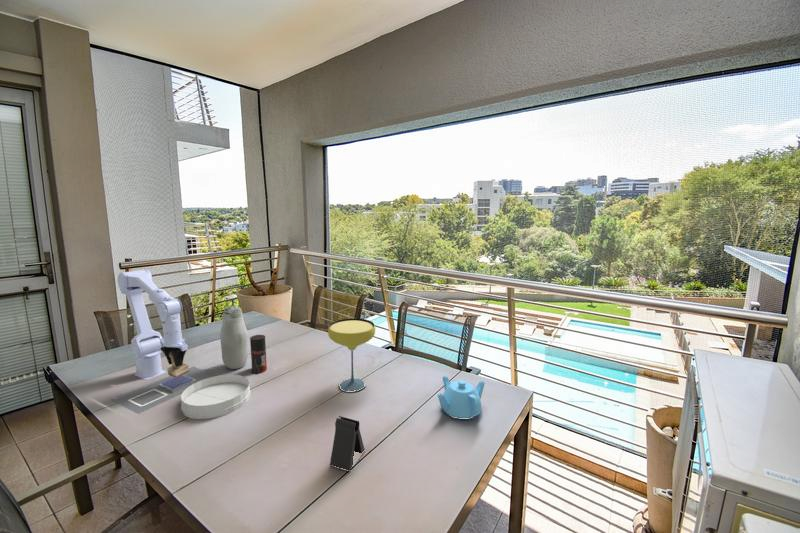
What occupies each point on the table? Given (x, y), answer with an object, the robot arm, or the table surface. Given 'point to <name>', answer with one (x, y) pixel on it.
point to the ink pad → (177, 383)
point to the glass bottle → (234, 338)
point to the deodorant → (258, 353)
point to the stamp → (177, 368)
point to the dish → (215, 396)
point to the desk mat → (157, 392)
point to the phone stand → (346, 442)
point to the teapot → (461, 398)
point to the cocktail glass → (351, 342)
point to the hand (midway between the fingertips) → (175, 364)
